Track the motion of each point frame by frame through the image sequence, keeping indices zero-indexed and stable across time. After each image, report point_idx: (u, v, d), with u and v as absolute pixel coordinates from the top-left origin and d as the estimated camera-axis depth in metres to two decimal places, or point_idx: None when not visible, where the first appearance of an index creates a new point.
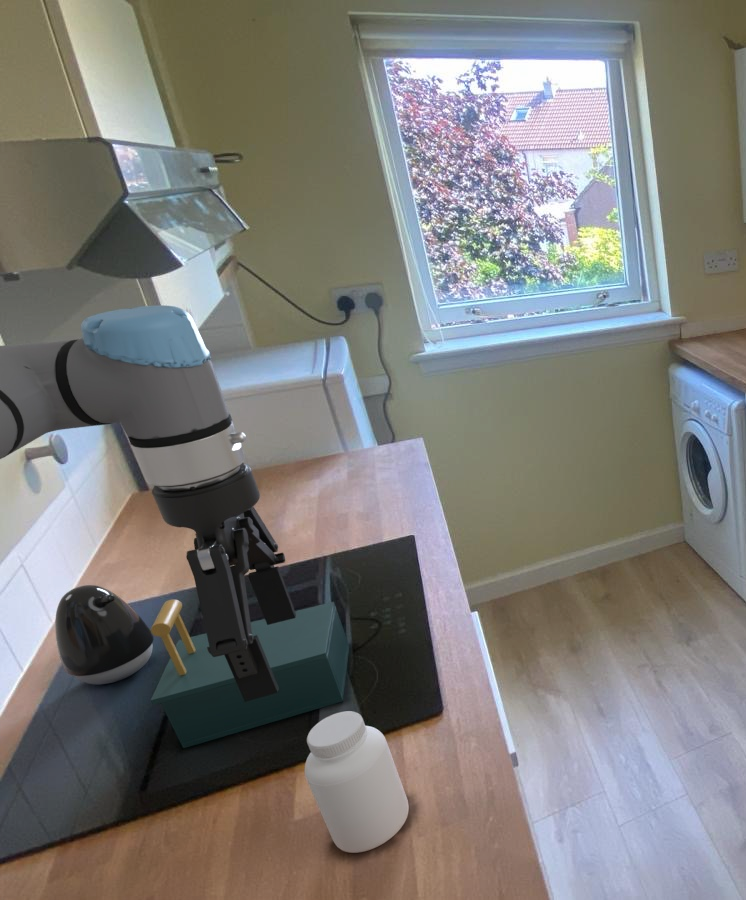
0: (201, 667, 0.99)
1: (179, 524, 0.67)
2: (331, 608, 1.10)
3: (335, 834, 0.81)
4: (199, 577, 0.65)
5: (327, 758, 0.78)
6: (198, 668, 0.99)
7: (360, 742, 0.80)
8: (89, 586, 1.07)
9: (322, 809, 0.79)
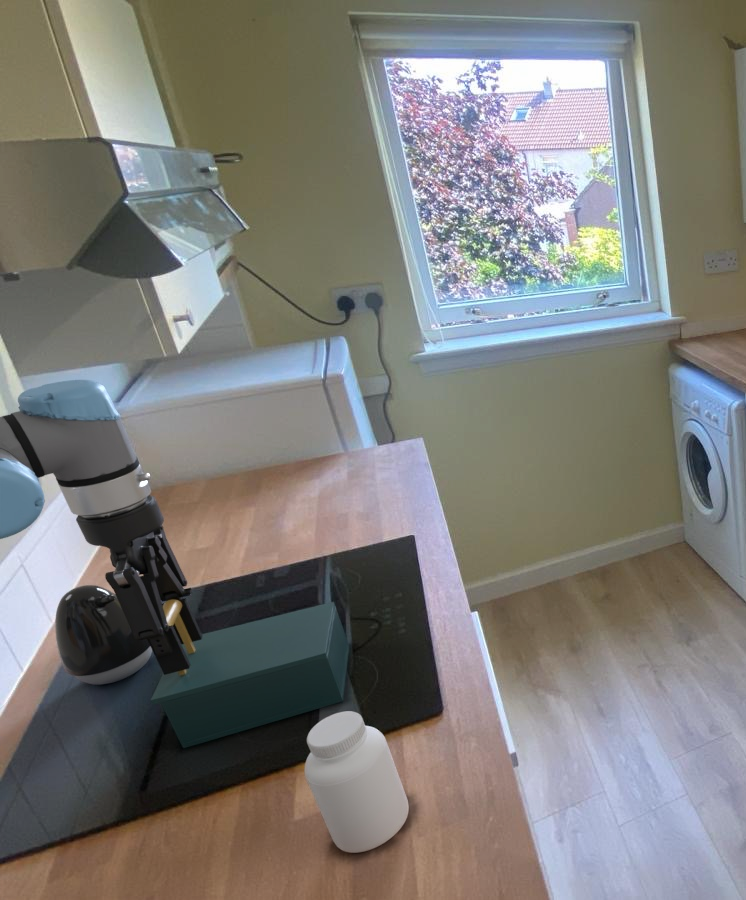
0: (201, 667, 0.99)
1: (97, 543, 0.88)
2: (331, 608, 1.10)
3: (335, 834, 0.81)
4: (118, 590, 0.88)
5: (327, 758, 0.78)
6: (198, 668, 0.99)
7: (360, 742, 0.80)
8: (89, 586, 1.07)
9: (322, 809, 0.79)
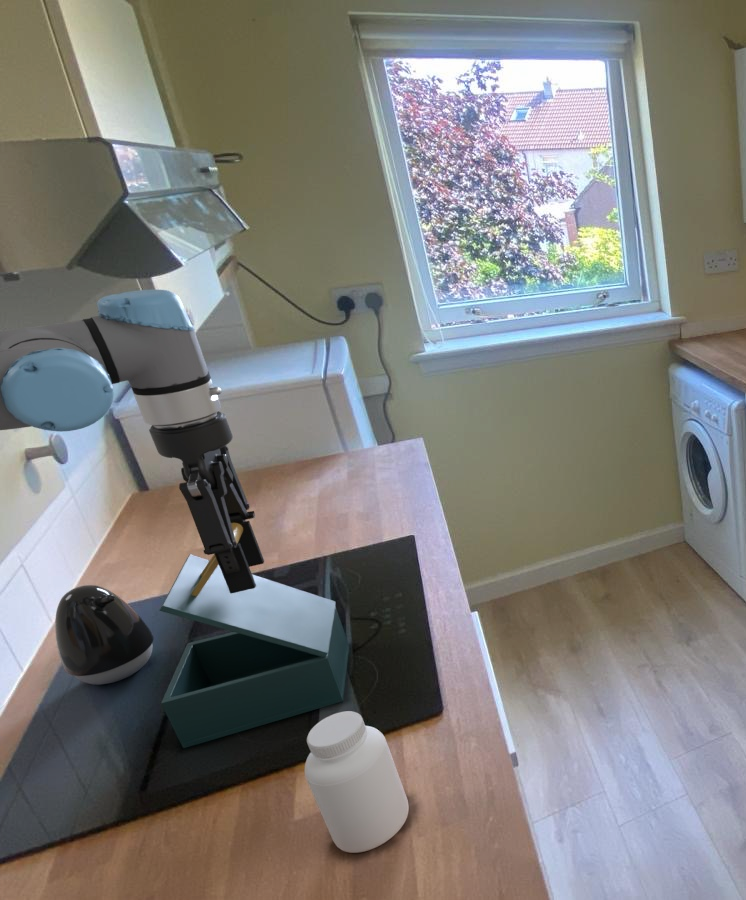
0: (212, 598, 0.96)
1: (170, 454, 0.88)
2: (333, 607, 1.11)
3: (335, 834, 0.81)
4: (191, 502, 0.88)
5: (327, 758, 0.78)
6: (209, 598, 0.96)
7: (360, 742, 0.80)
8: (89, 586, 1.07)
9: (322, 809, 0.79)
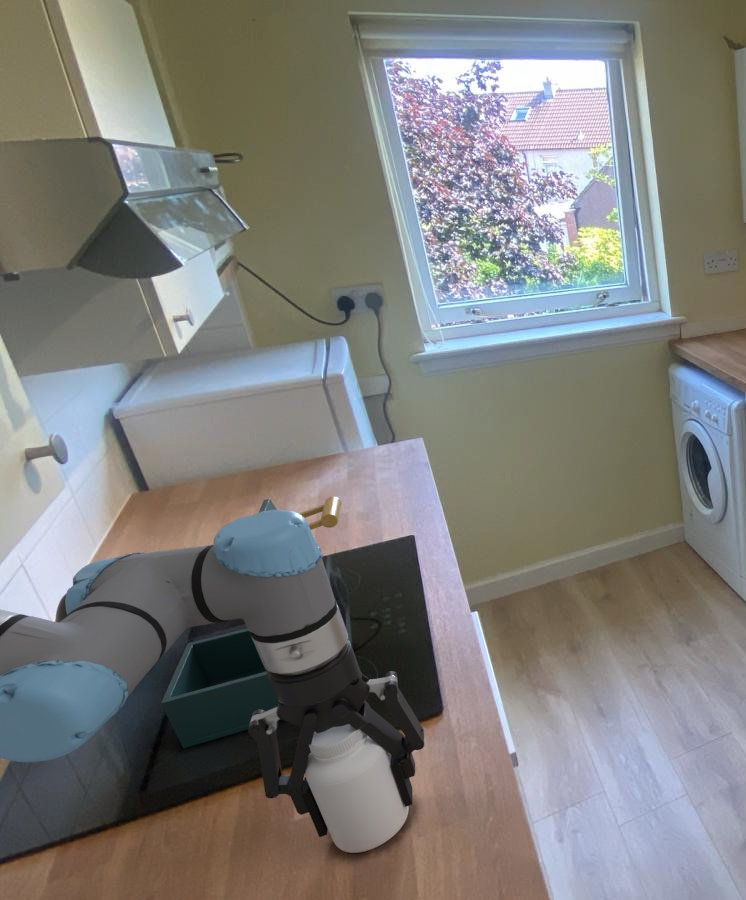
0: None
1: None
2: None
3: (335, 834, 0.81)
4: None
5: (327, 758, 0.78)
6: None
7: (360, 742, 0.80)
8: None
9: (322, 809, 0.79)
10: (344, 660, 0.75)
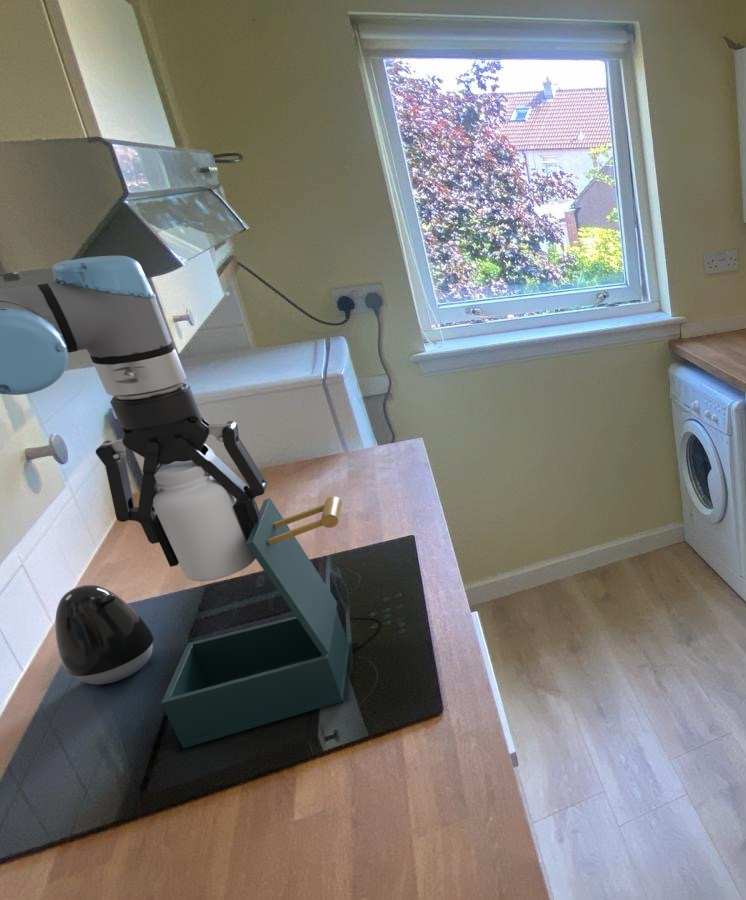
0: (277, 552, 0.98)
1: None
2: (335, 608, 1.11)
3: (182, 561, 0.93)
4: None
5: (170, 487, 0.90)
6: (275, 551, 0.98)
7: (202, 478, 0.92)
8: (89, 586, 1.07)
9: (169, 536, 0.92)
10: (180, 394, 0.87)
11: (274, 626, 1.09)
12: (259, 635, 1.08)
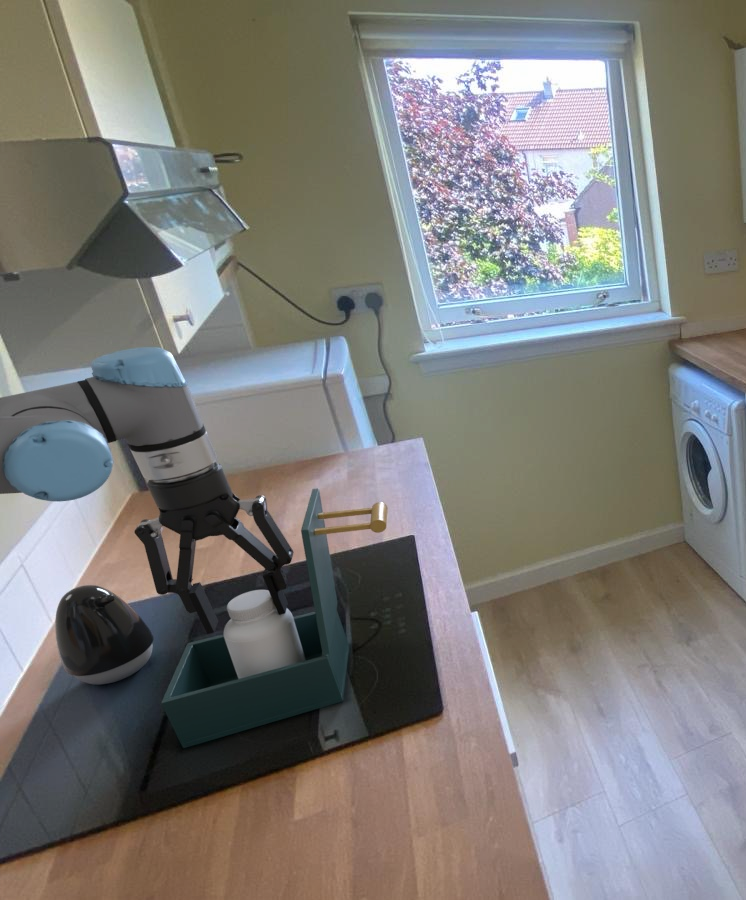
0: (317, 544, 1.00)
1: None
2: (336, 608, 1.11)
3: None
4: None
5: (244, 621, 0.99)
6: (316, 542, 1.00)
7: (271, 611, 1.01)
8: (89, 586, 1.07)
9: (237, 665, 1.00)
10: (212, 475, 0.92)
11: None
12: None
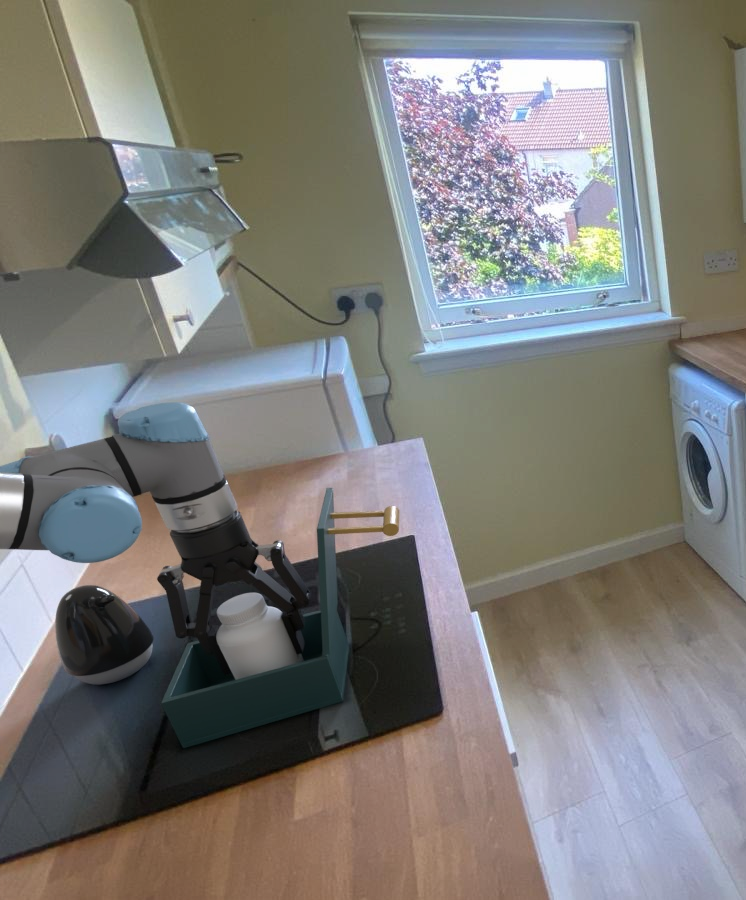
0: (328, 543, 1.00)
1: None
2: (336, 609, 1.11)
3: None
4: None
5: (234, 625, 0.98)
6: (328, 541, 1.00)
7: (261, 613, 1.00)
8: (89, 586, 1.07)
9: (233, 668, 1.00)
10: (232, 524, 0.95)
11: None
12: None
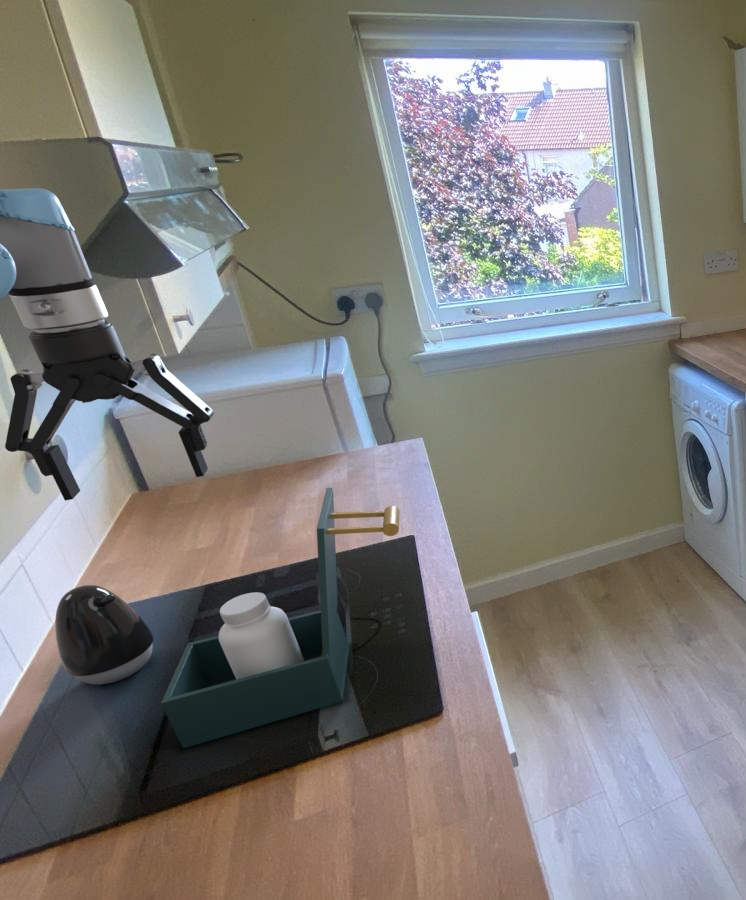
0: (328, 543, 1.00)
1: None
2: (336, 609, 1.11)
3: None
4: None
5: (237, 624, 0.98)
6: (328, 541, 1.00)
7: (264, 613, 1.01)
8: (89, 586, 1.07)
9: (234, 668, 1.00)
10: (100, 330, 0.87)
11: None
12: None
